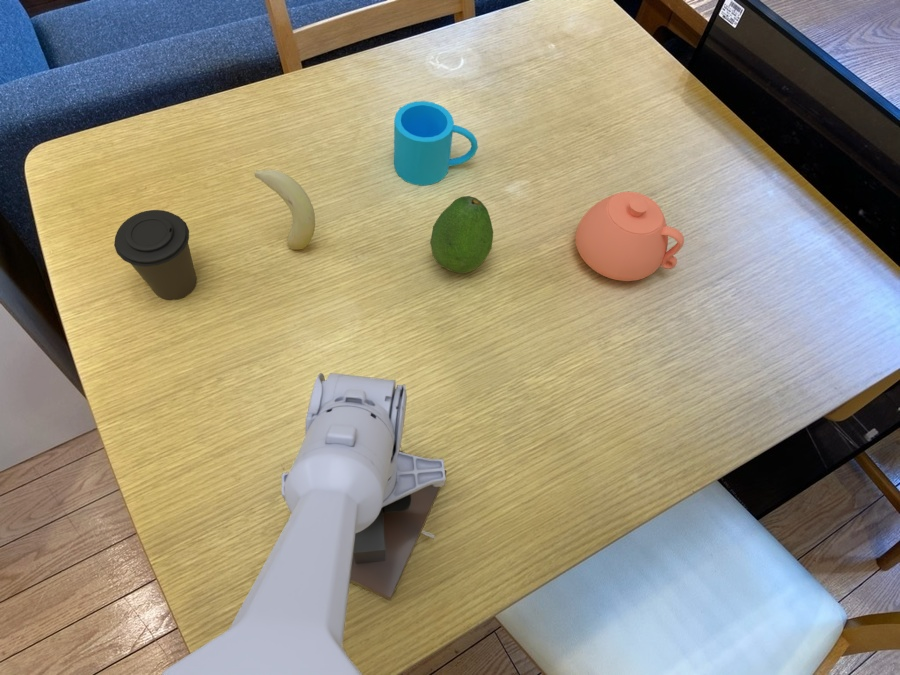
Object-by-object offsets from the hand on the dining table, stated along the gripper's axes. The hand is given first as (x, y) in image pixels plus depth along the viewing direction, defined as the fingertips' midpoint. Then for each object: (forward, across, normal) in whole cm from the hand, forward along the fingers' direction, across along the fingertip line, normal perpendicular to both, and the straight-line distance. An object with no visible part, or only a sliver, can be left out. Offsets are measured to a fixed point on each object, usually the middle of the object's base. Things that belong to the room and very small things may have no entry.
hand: (367, 504), depth 64 cm
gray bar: (+1, 0, 0) cm, 1 cm away
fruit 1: (+3, +8, -37) cm, 38 cm away
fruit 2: (+3, -14, -32) cm, 35 cm away
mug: (+3, -13, -50) cm, 52 cm away
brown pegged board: (+3, 0, 0) cm, 3 cm away
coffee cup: (+3, +22, -31) cm, 39 cm away
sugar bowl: (+3, -37, -32) cm, 49 cm away
